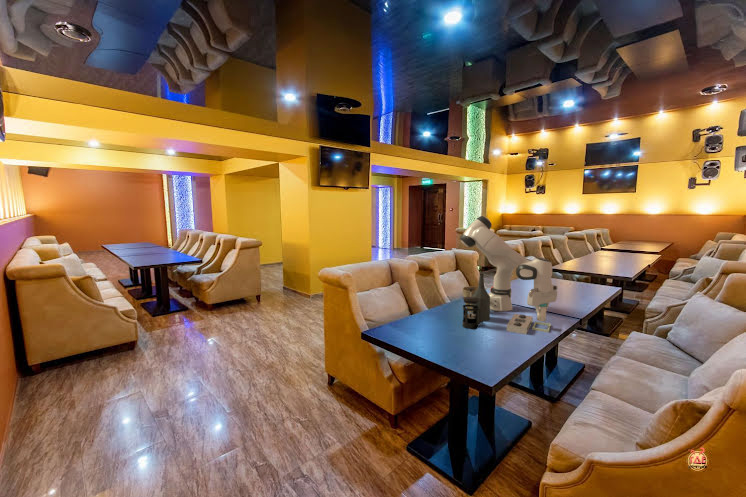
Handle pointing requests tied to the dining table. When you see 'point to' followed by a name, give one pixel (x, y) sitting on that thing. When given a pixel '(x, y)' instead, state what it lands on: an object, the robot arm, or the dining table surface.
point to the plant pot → (469, 293)
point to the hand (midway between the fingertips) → (541, 311)
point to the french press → (470, 319)
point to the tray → (541, 324)
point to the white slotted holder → (523, 327)
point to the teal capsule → (542, 312)
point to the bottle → (482, 300)
